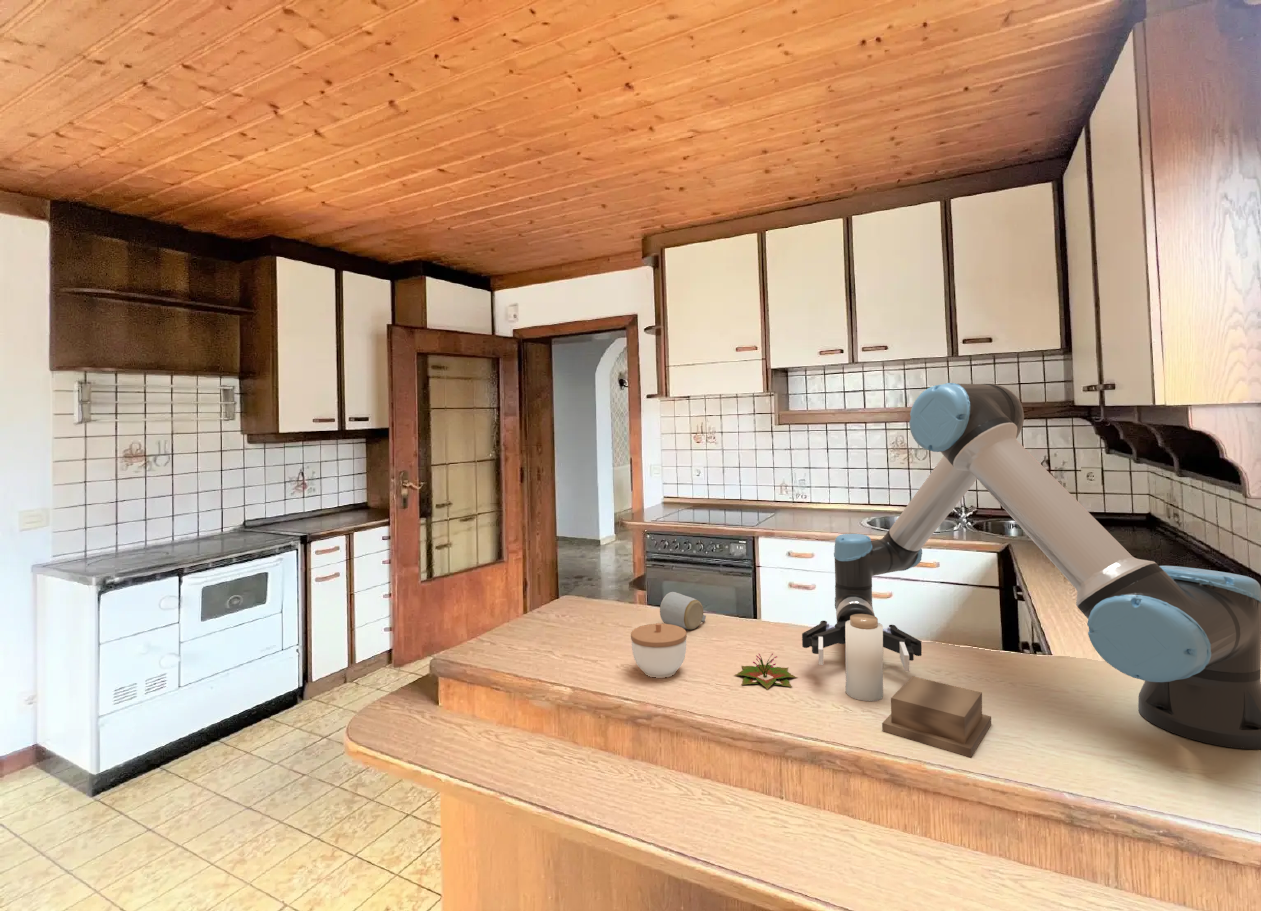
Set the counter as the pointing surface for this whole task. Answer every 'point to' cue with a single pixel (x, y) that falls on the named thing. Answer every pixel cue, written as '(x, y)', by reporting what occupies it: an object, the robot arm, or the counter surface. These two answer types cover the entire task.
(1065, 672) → the counter surface
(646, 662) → the lidded jar
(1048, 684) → the counter surface
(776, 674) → the lily flower
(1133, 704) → the counter surface
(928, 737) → the pedestal
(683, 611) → the ceramic mug
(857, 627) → the canister
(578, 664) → the counter surface
